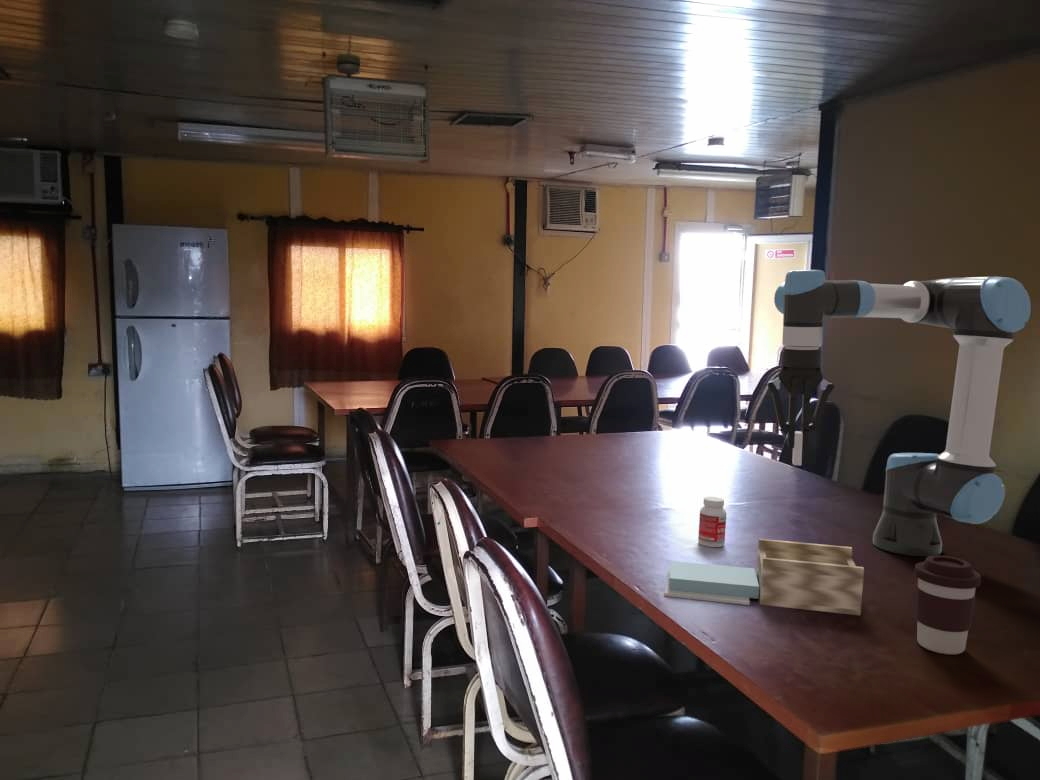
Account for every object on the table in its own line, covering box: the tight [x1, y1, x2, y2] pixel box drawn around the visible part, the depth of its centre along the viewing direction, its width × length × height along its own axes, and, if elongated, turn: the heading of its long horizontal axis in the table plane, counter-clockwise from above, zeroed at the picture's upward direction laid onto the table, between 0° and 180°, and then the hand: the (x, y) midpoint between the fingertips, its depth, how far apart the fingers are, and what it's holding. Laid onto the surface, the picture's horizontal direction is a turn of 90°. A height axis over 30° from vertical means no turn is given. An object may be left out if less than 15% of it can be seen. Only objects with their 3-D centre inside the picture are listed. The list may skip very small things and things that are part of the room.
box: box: [755, 538, 865, 616], centre depth 161 cm, size 18×14×9 cm
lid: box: [669, 560, 759, 600], centre depth 165 cm, size 17×11×2 cm, turn 79°
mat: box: [663, 567, 751, 606], centre depth 166 cm, size 16×16×1 cm
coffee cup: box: [914, 554, 982, 655], centre depth 139 cm, size 10×10×15 cm
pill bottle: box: [697, 496, 727, 548], centre depth 195 cm, size 6×6×11 cm
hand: (796, 463), depth 167 cm, fingers closed
